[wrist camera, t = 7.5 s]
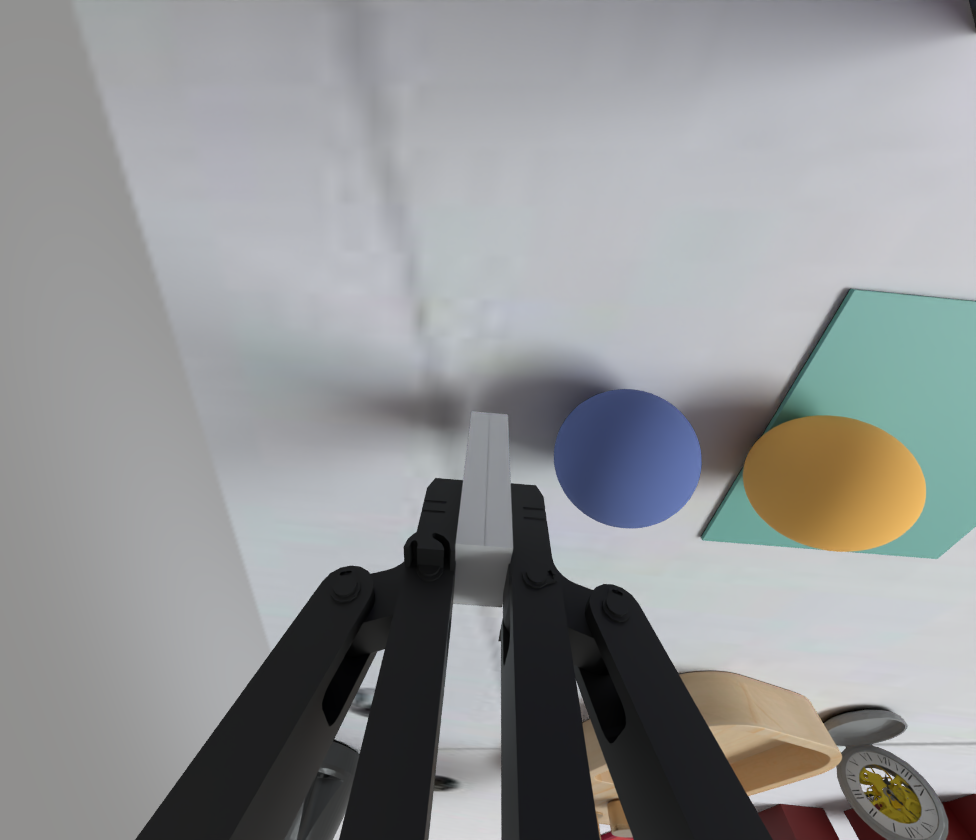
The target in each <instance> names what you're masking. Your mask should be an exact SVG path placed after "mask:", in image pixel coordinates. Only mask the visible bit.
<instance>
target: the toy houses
mask: <svg viewBox="0 0 976 840" xmlns="http://www.w3.org/2000/svg"><path fill="white" fill-rule="evenodd" d="M873 802H874V801H873ZM879 803H880V802H879ZM941 803H942V804H943V806H944V809H945V812H946V815H947V818H948V835H947V838H946V840H976V794H972V795H968V796H965V797H962V798H958V799H955V800H952V801H948V802H941ZM879 805H880V807H881V808H882V807H883V806H882V804H879ZM879 805H878V804H875V805H874V806H875V807H876V808H877V809H878V810H880V809H881V808H880V807H879ZM844 813H845V815H846V817H847V818H848V820H849V822H850V824H851V826H852V827H853V829H854V831H855V833H856V835H857V837H858V838H859V840H887V839H886V838H884V837H882V836H881V835H880V834H878V833H877V832H876V831H874V830H873V829H872V828H871V827H870V826H869V825H868V824H866V823H865V822H864V821H863V820H862V819H861V817H859V815H858V814H857V813H856V811H855V810H854V809H853V808H852V809H849V810H846V811H844ZM758 814H759V816H760V818H761V820H762V822H763V823H764V825H765V827H766V829H767V830H768V832H769V834H770V836H771V837H772V839H773V840H839V838H838V836H837V834H836V832H835V830H834V828H833V826H832V824H831V823H830V821H829V819H828V817H827V815H826V813H825V811H824V809H823V808H814V807H805V806H796V805H786V804H779V805H776V806H774V807H771V808H769V809H766V810H764V811H761V812H759V813H758Z"/></svg>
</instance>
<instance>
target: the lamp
mask: <svg viewBox="0 0 976 840" xmlns="http://www.w3.org/2000/svg"><path fill="white" fill-rule="evenodd" d="M679 676H680V677H681V679H682V681H683V683H684V684H685V686H686V688H687V690H688V691H689V693H690V695H691V697H692V698H693V700H694V702H695V704H696V706H697V707H698V709H699V711H700V713H701V714H702V716H703V718H704V720H705V721H706V723H707V725H708V727H709V728H710V730H711V732H712V734H713V735H714V737H715V739H716V741H717V742H718V744H719V746H720V748H721V749H722V751H723V753H724V755H725V756H726V758H727V760H728V762H729V764H730V765H731V767H732V769H733V771H734V772H735V774H736V776H737V778H738V779H739V781H740V783H741V785H742V786H743V788H744V790H745V792H746V793H747V795H748V796H750V795H754V794H757V793H760V792H764V791H767V790H770V789H774V788H777V787H780V786H784V785H787V784H790V783H794V782H797V781H800V780H803V779H807V778H810V777H813V776H816V775H819V774H822V773H824V772H827V771H829V770H831V769H833V768H834V767H836V766H837V765H838V764H839V763H840V761H841V759H842V754H841V752H840V751H839V749H838V747H837V746H836V744H835V742H834V741H833V739H832V737H831V736H830V734H829V732H828V731H827V729H826V727H825V726H824V724H823V722H822V721H821V719H820V717H819V716H818V714H817V712H816V711H815V709H814V707H813V706H812V704H811V702H810V701H809V700H808V699H807V698H806V697H804V696H802V695H800V694H798V693H795V692H792V691H789V690H786V689H783V688H780V687H777V686H773V685H770V684H767V683H764V682H761V681H758V680H755V679H752V678H748V677H745V676H742V675H738V674H734V673H729V672H719V671H701V672H690V673H684V674H679ZM582 724H583V731H584V738H585V744H586V751H587V757H588V764H589V770H590V777H591V784H592V790H593V797H594V803H595V810H596V817H597V823H598V830H599V836H600V840H601V835H600V829H599V824H606V825H610V827H611V833H612V835H614V836H618V837H633V836H632V833H631V831H630V828H629V825H628V822H627V820H626V817H625V814H624V811H623V808H622V806H621V803H620V800H619V797H618V795H617V792H616V789H615V786H614V783H613V781H612V778H611V775H610V772H609V770H608V767H607V764H606V761H605V759H604V756H603V753H602V750H601V747H600V745H599V742H598V739H597V736H596V734H595V731H594V728H593V725H592V723H591V720H590V719H589V720H587V721H585V722H584V723H582Z"/></svg>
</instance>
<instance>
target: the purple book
mask: <svg viewBox="0 0 976 840" xmlns="http://www.w3.org/2000/svg"><path fill="white" fill-rule="evenodd" d="M969 2H970V6H971V10H972V14H973V18H974V23H975V27H976V0H969Z"/></svg>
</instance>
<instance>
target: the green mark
mask: <svg viewBox="0 0 976 840" xmlns="http://www.w3.org/2000/svg"><path fill="white" fill-rule="evenodd" d="M817 415H830V416H841V417H847V418H852V419H856V420H859V421H862V422H865V423H868V424H871V425H873V426H876V427H878V428H880V429H882V430H884V431H885V432H887V433H888V434H890V435H892V436H893V437H895V438H896V439H897V440H898V441H900V442H901V443H902V444H903V445H904V446H905V447H906V448H907V449H908V450H909V451H910V452H911V453H912V454H913V456H914V457H915V459H916V461H917V462H918V464H919V465H920V467H921V470H922V472H923V475H924V478H925V483H926V499H925V504H924V508H923V510H922V512H921V514H920V516H919V518H918V519H917V521H916V522H915V523H914V525H913V526H912V527H911V528H910V529H909V530H907V531H906V532H905V533H904V534H903V535H901V536H900V537H898V538H897V539H895V540H893V541H891V542H889V543H887V544H885V545H882V546H879V547H876V548H872V549H868V550H861V551H849V552H856V553H869V554H881V555H894V556H906V557H919V558H931V559H938V558H939V557H940V556H941V555H943V554H944V553H945V552H946V551H947V550H948V549H950V548H951V547H952V546H953V545H954V544H956V543H957V542H958V541H959V540H960V539H961V538H963V537H964V536H965V535H966V534H967V533H969V532H970V531H971V530H972V529H973V528H974V527H976V301H969V300H959V299H949V298H939V297H929V296H918V295H908V294H898V293H888V292H878V291H868V290H858V289H850V291H849V292H848V294H847V296H846V297H845V299H844V301H843V302H842V304H841V306H840V307H839V309H838V311H837V312H836V314H835V316H834V317H833V319H832V321H831V322H830V324H829V326H828V327H827V329H826V331H825V332H824V334H823V336H822V337H821V339H820V341H819V342H818V344H817V346H816V347H815V349H814V351H813V352H812V354H811V356H810V357H809V359H808V360H807V362H806V364H805V365H804V367H803V369H802V370H801V372H800V374H799V375H798V377H797V379H796V380H795V382H794V384H793V385H792V387H791V389H790V390H789V392H788V394H787V395H786V397H785V399H784V400H783V402H782V404H781V405H780V407H779V409H778V410H777V412H776V414H775V415H774V417H773V419H772V420H771V422H770V424H769V425H768V427H767V429H766V430H765V432H764V434H765V433H766V432H768V431H769V430H771V429H772V428H774V427H776V426H778V425H780V424H782V423H784V422H787V421H790V420H793V419H798V418H802V417H807V416H817ZM764 434H763V435H764ZM763 435H762V436H763ZM743 469H744V467H743V468H742V470H741V472H740V473H739V475H738V477H737V478H736V480H735V482H734V483H733V485H732V487H731V488H730V490H729V492H728V493H727V495H726V497H725V498H724V500H723V502H722V503H721V505H720V507H719V508H718V510H717V512H716V513H715V515H714V517H713V518H712V520H711V522H710V523H709V525H708V527H707V528H706V530H705V532H704V533H703V535H702V537H701V538H702V540H706V541H718V542H731V543H743V544H756V545H768V546H781V547H793V548H806V549H818V548H813V547H809V546H806V545H803V544H800V543H798V542H796V541H793V540H791V539H789V538H787V537H786V536H784V535H782V534H780V533H779V532H777V531H776V530H774V529H773V528H772V527H770V526H769V525H768V524H767V523H766V522H765V521H764V520H763V519H762V518H761V517H760V516H759V515H758V514H757V512H756V511H755V510H754V508H753V506H752V505H751V503H750V502H749V499H748V497H747V495H746V492H745V488H744V483H743ZM818 550H822V549H818Z"/></svg>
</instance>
